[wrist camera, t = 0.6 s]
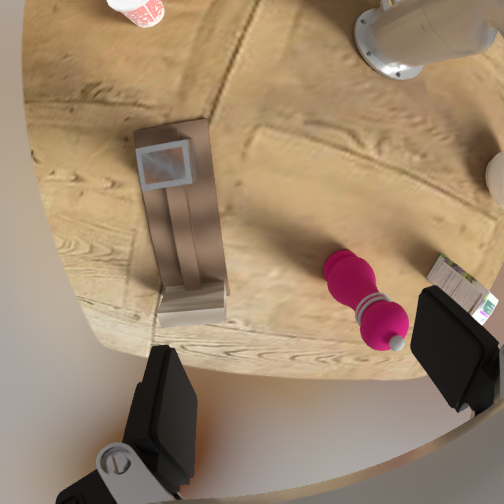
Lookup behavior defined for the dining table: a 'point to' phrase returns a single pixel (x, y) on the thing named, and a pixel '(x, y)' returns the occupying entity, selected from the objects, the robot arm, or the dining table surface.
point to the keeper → (167, 164)
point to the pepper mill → (366, 301)
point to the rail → (187, 234)
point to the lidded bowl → (496, 178)
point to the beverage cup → (140, 11)
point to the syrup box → (463, 288)
